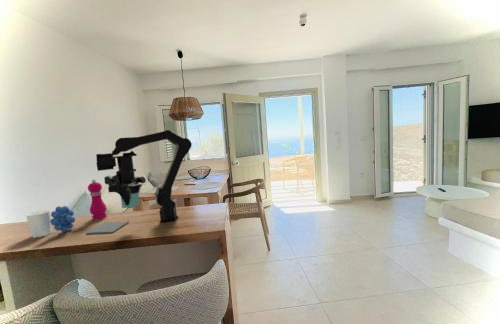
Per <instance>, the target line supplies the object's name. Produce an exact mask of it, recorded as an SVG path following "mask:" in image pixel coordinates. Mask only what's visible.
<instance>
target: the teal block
mask: <svg viewBox="0 0 500 324" xmlns="http://www.w3.org/2000/svg"><path fill="white" fill-rule="evenodd" d="M140 202H141V201H140V196H139V193H131V195H130V202H129V205H126V204H125V203H124V201H123V199H122V197H121V196H120V203H121V209H125V208H127V209H129V208H135V207H137V206H139V205H141V203H140Z"/></svg>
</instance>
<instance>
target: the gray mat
mask: <svg viewBox="0 0 500 324" xmlns="http://www.w3.org/2000/svg"><path fill="white" fill-rule="evenodd" d="M129 223H130V221H129V220H128V221H111V222H110V221H109V222H103V223H102V224H99V225H98V226H96V227H94V228H93V229H90V230H88V231H87V232H86V233H85V234H86V235H96V234H97V235H99V234H114V233H116V232H117V231H118V230H120V229H122V228H123V227H124V226H126V225H128V224H129Z"/></svg>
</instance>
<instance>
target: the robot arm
mask: <svg viewBox="0 0 500 324" xmlns="http://www.w3.org/2000/svg"><path fill="white" fill-rule="evenodd" d="M165 140H167V141H168V142H170V143H172V145H175V147H174V156H173V158H172V160H171V162H170V166H169V168H168V171H167V172H166V175H165V178H164V180H163V182H162V184H161V185H160V186H156V190H155V193H153V195H154V200H155V202H156V204H157V205H159V206H161V207H159V218H160V220H159V222H160V223H167V222H170V223H171V222H175V221H176V220H177V219H178V218H179V215H178V214H177V205H176V204H177V203H176V201H174V200H173V199H172V198H171V197H172V190H173V189H172V188H173V185H174V182H175V181H176V177H177V175H178V173H179V170H180V167H181V164H182V163H183V159H184V158H185V157H186V156H187V154H188V153H189V151H190V150H191V148H192V142H191V140H190V139H189V138H186V137H182V136H180V135H179V134H176V133H174V132H172V131H171V130H169V129H166V130H164V131H160V132H155V133H150V134H147V135H142V136H135V137H134V136H130V137H119V138H118V139H116V141H115V144H114V146H115V147H114V149H113V150H112V151H111V152H110V153H97V154H96V162H95V163H96V167H97V169H96V170H97V171H98V172H99V171H100V172H101V171H108V170H114V168H115V167H117V166H118V167H117V168H118V170H117V171H115V173H116V174H115V175H113V176H112V175H110V174H109V175H107V176H104V185H105V184H106V185H108V187H107V191H108V193H114V194H115V193H116V194H118V195H119V196H120V198H121V197H122V199H123V201H124V203H125V204H126V205H129V202H130V195H131V193H138V194H139V192H140V191H141V189H142V186H143V184H144V183H147V182H146V178H145V177H144V176H135V175H136V174H135V172H137V169H136V168H134V161H133V157H136V156H137V155H138V154H137V153H135V152H134V151H133V150H132V149H136V148H137V147H139V146H143V145H147V144H151V143H155V142H160V141H165ZM121 153H122V155H119V154H121ZM116 161H117V163H116ZM140 183H141V184H140Z"/></svg>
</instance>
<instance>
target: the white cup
mask: <svg viewBox="0 0 500 324" xmlns="http://www.w3.org/2000/svg"><path fill="white" fill-rule="evenodd" d="M51 219H52V216H51V210H50V209H41V210H36V211H33V212H30V213H27V214H26V221H27V225H28V227H29V230H30V233H31V237H32V238H34V239H37V238H36V237H38V238H41V237H42V236H43V237H45V236H48V235H51V234H52V233H53V229H52V224H51V223H50V221H51ZM43 237H42V238H43Z"/></svg>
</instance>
